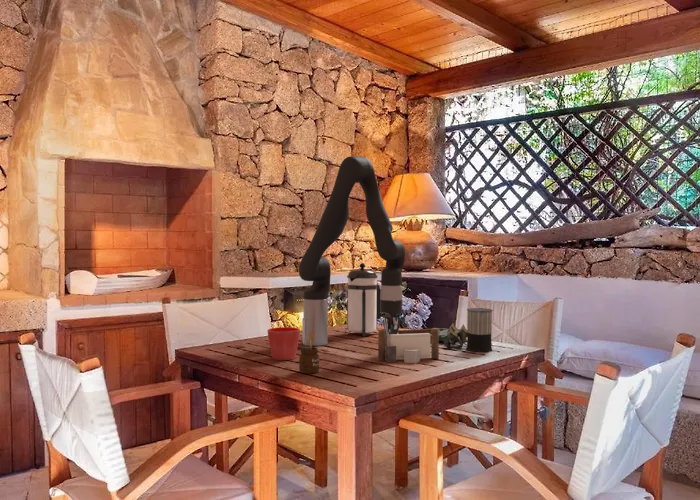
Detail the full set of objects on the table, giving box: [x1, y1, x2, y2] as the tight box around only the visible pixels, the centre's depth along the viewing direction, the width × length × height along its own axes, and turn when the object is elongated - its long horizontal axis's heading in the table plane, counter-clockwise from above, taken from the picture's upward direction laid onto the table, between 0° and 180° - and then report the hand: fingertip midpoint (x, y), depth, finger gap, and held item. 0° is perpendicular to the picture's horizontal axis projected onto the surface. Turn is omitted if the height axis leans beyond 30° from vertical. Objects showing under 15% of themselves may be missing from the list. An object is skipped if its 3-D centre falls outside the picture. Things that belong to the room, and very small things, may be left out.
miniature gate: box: [398, 322, 468, 343], centre depth 244 cm, size 27×6×30 cm
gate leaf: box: [386, 333, 431, 361], centre depth 201 cm, size 15×2×8 cm, turn 103°
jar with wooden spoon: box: [298, 330, 320, 375], centre depth 182 cm, size 6×6×12 cm
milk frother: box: [443, 307, 494, 353], centre depth 221 cm, size 14×16×15 cm
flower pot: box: [267, 326, 301, 361], centre depth 203 cm, size 11×11×10 cm
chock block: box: [403, 348, 421, 364], centre depth 198 cm, size 4×4×4 cm
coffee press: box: [343, 262, 382, 338], centre depth 256 cm, size 17×16×30 cm
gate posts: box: [377, 327, 440, 363], centre depth 200 cm, size 21×4×10 cm, turn 103°
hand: (390, 348), depth 209 cm, fingers closed
